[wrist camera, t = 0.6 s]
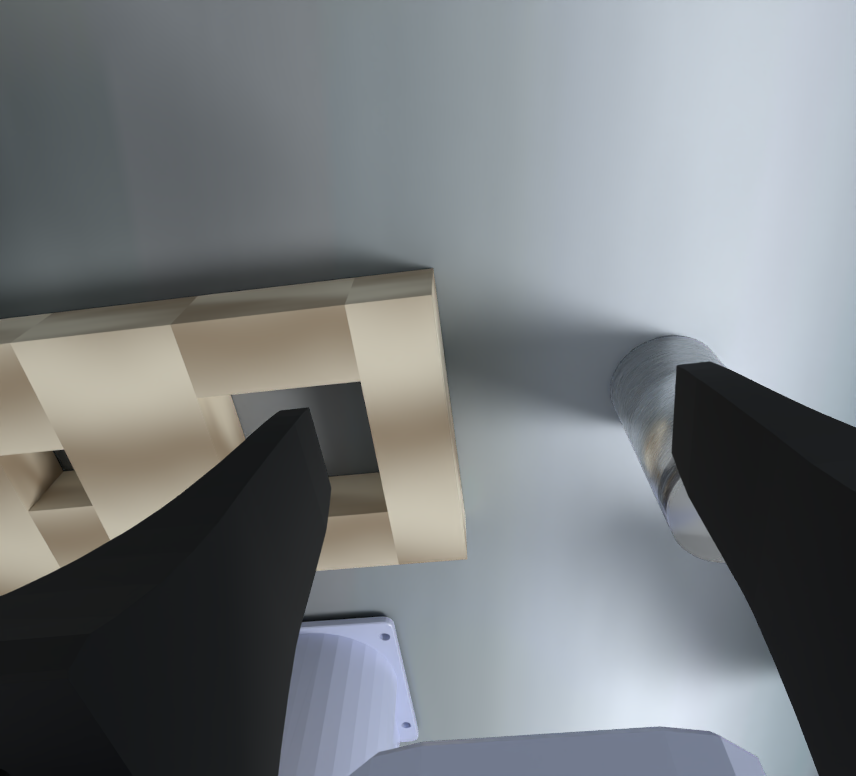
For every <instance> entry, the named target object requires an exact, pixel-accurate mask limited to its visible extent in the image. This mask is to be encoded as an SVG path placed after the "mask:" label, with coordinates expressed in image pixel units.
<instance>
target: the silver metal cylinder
mask: <svg viewBox="0 0 856 776" xmlns="http://www.w3.org/2000/svg"><path fill="white" fill-rule="evenodd" d="M707 361H710V362H713V363H716V364H718V365H721V366H723V367H725V366H724V364H723V363H722V362H721V361H720V360H719V359H718V357H717V356H716V355H715V354H714V353H713V352H712V350H711V349H710V348H709V347H708V346H706V345H705V344H703V343H702V342H700V341H698V340H696V339H693V338H690V337H685V336H665V337H660V338H656V339H653V340H650V341H648V342H645V343H644V344H642V345H640V346H638V347H637V348H635V349H634V350H632V351H631V352H630V353H629V354H628V355H627V356H626V357H625V358H624V359H623V360H622V361H621V363H620V364H619V365H618V367H617V369H616V371H615V373H614V375H613V378H612V381H611V388H610V394H611V400H612V403H613V406H614V408H615V410H616V412H617V415H618V417H619V419H620V421H621V423H622V425H623V428H624V430H625V432H626V434H627V436H628V438H629V441H630V443H631V445H632V447H633V449H634V451H635V454H636V456H637V458H638V460H639V462H640V464H641V467H642V469H643V471H644V473H645V475H646V477H647V480H648V482H649V484H650V486H651V488H652V491H653V493H654V495H655V497H656V499H657V501H658V504H659V506H660V508H661V510H662V512H663V514H664V517H665V519H666V521H667V523H668V525H669V527H670V530H671V532H672V534H673V536H674V538H675V539H676V541H677V542H678V544H679V545H680V546H681V547H682V548H683V549H685V550H686V551H687V552H689V553H690V554H692V555H694V556H696V557H698V558H700V559H703V560H707V561H711V562H717V563H726V562H725V560H724V559H723V557H722V555H721V553H720V552H719V550H718V548H717V546H716V545H715V543H714V541H713V540H712V538H711V536H710V534H709V533H708V531H707V529H706V527H705V525H704V524H703V522H702V520H701V518H700V517H699V515H698V513H697V511H696V509H695V508H694V506H693V504H692V502H691V500H690V499H689V497H688V495H687V492H686V490H685V487H684V485H683V482H682V480H681V477H680V475H679V472H678V469H677V467H676V464H675V461H674V458H673V456H672V453H671V452H672V434H673V417H674V399H675V382H676V365H681V364H690V363H699V362H707ZM725 368H726V367H725Z"/></svg>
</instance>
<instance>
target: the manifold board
mask: <svg viewBox="0 0 856 776" xmlns="http://www.w3.org/2000/svg"><path fill="white" fill-rule="evenodd" d="M358 381H361V386H362V390H363V395H364V400H365V405H366V410H367V414H368V419H369V424H370V429H371V434H372V438H373V443H374V448H375V453H376V457H377V462H378V467H379V472H377V473H366V474H355V475H344V476H333V477H329V481H330V484H331V497H330V507H329V515H328V523H327V530H326V534H325V538H324V542H323V546H322V550H321V554H320V557H319V561H318V565H317V569H316V571H321V570H334V569H347V568H360V567H373V566H386V565H399V564H412V563H424V562H437V561H450V560H463V559H467V544H466V521H465V510H464V502H463V495H462V487H461V479H460V472H459V464H458V456H457V449H456V441H455V433H454V425H453V418H452V410H451V402H450V395H449V387H448V379H447V372H446V364H445V356H444V348H443V341H442V333H441V325H440V318H439V310H438V302H437V295H436V287H435V279H434V271H433V268H431V269H423V270H414V271H406V272H397V273H389V274H380V275H372V276H363V277H355V278H346V279H338V280H329V281H321V282H312V283H304V284H295V285H287V286H278V287H270V288H261V289H253V290H244V291H236V292H227V293H219V294H210V295H202V296H193V297H185V298H176V299H168V300H159V301H151V302H142V303H134V304H125V305H117V306H108V307H100V308H91V309H83V310H74V311H66V312H57V313H49V314H40V315H32V316H23V317H15V318H6V319H0V595H4V594H7V593H9V592H11V591H13V590H16V589H18V588H20V587H22V586H24V585H26V584H29V583H31V582H33V581H35V580H37V579H39V578H41V577H43V576H45V575H48V574H49V573H51V572H53V571H55V570H57V569H59V568H61V567H63V566H65V565H67V564H69V563H71V562H73V561H75V560H77V559H79V558H81V557H82V556H84V555H86V554H87V553H89V552H91V551H93V550H94V549H96V548H98V547H100V546H101V545H103V544H105V543H107V542H108V541H110V540H112V539H114V538H115V537H117V536H119V535H120V534H122V533H124V532H126V531H127V530H129V529H130V528H132V527H134V526H135V525H137V524H138V523H140V522H141V521H143V520H144V519H146V518H147V517H149V516H150V515H152V514H153V513H155V512H156V511H158V510H159V509H161V508H162V507H163V506H165V505H166V504H168V503H169V502H170V501H172V500H173V499H174V498H176V497H177V496H178V495H180V494H181V493H182V492H184V491H185V490H186V489H187V488H189V487H190V486H191V485H192V484H193V483H195V482H196V481H197V480H198V479H200V478H201V477H202V476H203V475H205V474H206V473H207V472H208V471H210V470H211V469H212V468H213V467H215V466H216V465H217V464H218V463H219V462H221V461H222V460H223V459H224V458H225V457H226V456H227V455H228V454H230V453H231V452H232V451H233V450H234V449H235V448H236V447H238V446H239V445H240V444H241V443H242V442H243V441H244V440H245V437H244V434H243V431H242V428H241V425H240V422H239V419H238V416H237V413H236V410H235V407H234V404H233V401H232V398H231V395H233V394H242V393H252V392H262V391H271V390H281V389H291V388H300V387H310V386H320V385H329V384H339V383H349V382H358ZM63 449H64V450H65V452H66V454H67V456H68V458H69V460H70V462H71V464H72V466H73V468H74V470H73V471H63V470H62V468H61V466H60V464H59V462H58V460H57V458H56V456H55V454H54V452H53V450H63Z"/></svg>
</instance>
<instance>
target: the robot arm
mask: <svg viewBox="0 0 856 776" xmlns="http://www.w3.org/2000/svg"><path fill="white" fill-rule="evenodd" d="M671 453H672V456H673V458H674V461H675V464H676V467H677V469H678V472H679V475H680V477H681V480H682V482H683V485H684V487H685V490H686V492H687V495H688V497H689V499H690V500H691V502H692V504H693V506H694V508H695V509H696V511H697V513H698V515H699V517H700V518H701V520H702V522H703V524H704V525H705V527H706V529H707V531H708V533H709V534H710V536H711V538H712V540H713V541H714V543H715V545H716V546H717V548H718V550H719V552H720V553H721V555H722V557H723V559H724V560H725V562H726V564H727V566H728V567H729V569H730V571H731V573H732V574H733V576H734V578H735V580H736V581H737V583H738V585H739V587H740V588H741V590H742V592H743V594H744V596H745V598H746V600H747V602H748V604H749V606H750V608H751V610H752V612H753V614H754V616H755V618H756V621H757V623H758V625H759V628H760V630H761V632H762V634H763V637H764V639H765V641H766V644H767V646H768V648H769V651H770V653H771V655H772V657H773V660H774V662H775V665H776V667H777V669H778V672H779V674H780V677H781V679H782V682H783V684H784V687H785V689H786V692H787V694H788V697H789V699H790V701H791V704H792V706H793V709H794V711H795V714H796V716H797V719H798V721H799V724H800V727H801V729H802V732H803V735H804V737H805V740H806V743H807V745H808V748H809V751H810V753H811V756H812V758H813V761H814V764H815V766H816V769H817V772H818V774H819V776H856V427H853V426H851V425H848V424H846V423H844V422H841V421H839V420H836V419H834V418H832V417H829V416H827V415H824V414H822V413H820V412H818V411H815V410H813V409H811V408H809V407H806V406H804V405H802V404H800V403H798V402H796V401H793V400H791V399H789V398H787V397H785V396H783V395H781V394H779V393H777V392H775V391H773V390H771V389H769V388H766V387H764V386H762V385H760V384H758V383H756V382H754V381H752V380H750V379H748V378H746V377H744V376H742V375H740V374H738V373H736V372H734V371H732V370H730V369H727V368H725V367H723V366H721V365H718V364H716V363H713V362H710V361H707V362H699V363H690V364H681V365H676V382H675V399H674V417H673V434H672V452H671ZM330 497H331V484H330V481H329V477H328V474H327V470H326V467H325V463H324V459H323V456H322V452H321V449H320V445H319V442H318V438H317V434H316V431H315V427H314V424H313V420H312V417H311V413H310V409H309V407H308V408H300V409H291V410H282V411H279V412H277V413H276V414H275V415H273V416H272V417H271V418H270V419H268V420H267V421H266V422H265V423H264V424H262V425H261V426H260V427H259V428H258V429H257V430H256V431H254V432H253V433H252V434H251V435H250V436H249V437H248V438H247V439H246V440H244V441H243V442H242V443H241V444H240V445H239V446H238V447H236V448H235V449H234V450H233V451H232V452H231V453H230V454H228V455H227V456H226V457H225V458H224V459H223V460H222V461H221V462H219V463H218V464H217V465H216V466H215V467H213V468H212V469H211V470H210V471H208V472H207V473H206V474H205V475H203V476H202V477H201V478H200V479H198V480H197V481H196V482H195V483H193V484H192V485H191V486H190V487H189V488H187V489H186V490H185V491H184V492H182V493H181V494H180V495H178V496H177V497H176V498H174V499H173V500H172V501H170V502H169V503H168V504H166V505H165V506H163V507H162V508H161V509H159V510H158V511H156V512H155V513H153V514H152V515H150V516H149V517H147V518H146V519H144V520H143V521H141V522H140V523H138V524H137V525H135V526H134V527H132V528H130V529H129V530H127V531H126V532H124V533H122V534H120V535H119V536H117V537H115V538H114V539H112V540H110V541H108V542H107V543H105V544H103V545H101V546H100V547H98V548H96V549H94V550H93V551H91V552H89V553H87V554H86V555H84V556H82V557H81V558H79V559H77V560H75V561H73V562H71V563H69V564H67V565H65V566H63V567H61V568H59V569H57V570H55V571H53V572H51V573H49V574H48V575H45V576H43V577H41V578H39V579H37V580H35V581H33V582H31V583H29V584H26V585H24V586H22V587H20V588H18V589H16V590H13V591H11V592H9V593H7V594H4V595H2V596H0V776H766V774H765V772H764V770H763V767H762V765H761V763H760V761H759V758H758V757H757V756H755V755H753V754H752V753H750V752H748V751H746V750H744V749H743V748H741V747H739V746H737V745H735V744H734V743H732V742H730V741H728V740H726V739H725V738H723V737H721V736H719V735H717V734H715V733H712V732H710V731H702V730H691V729H681V728H670V727H645V728H629V729H614V730H598V731H582V732H567V733H551V734H535V735H520V736H504V737H488V738H473V739H457V740H442V741H426V742H420V743H415V744H411V745H407V746H403V747H399V746H400V742H407V741H414V740H416V739H417V738H418V726H417V721H416V717H415V713H414V708H413V704H412V700H411V695H410V691H409V686H408V682H407V678H406V673H405V669H404V665H403V660H402V656H401V651H400V647H399V643H398V638H397V634H396V630H395V625H394V622H393V620H391V619H390V618H388V617H383V616H382V617H368V618H353V619H339V620H325V621H311V622H302V620H303V616H304V613H305V609H306V605H307V602H308V598H309V594H310V591H311V587H312V583H313V580H314V576H315V572H316V569H317V565H318V561H319V557H320V554H321V550H322V546H323V542H324V538H325V534H326V530H327V523H328V515H329V507H330ZM384 633H386V634H384Z"/></svg>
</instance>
